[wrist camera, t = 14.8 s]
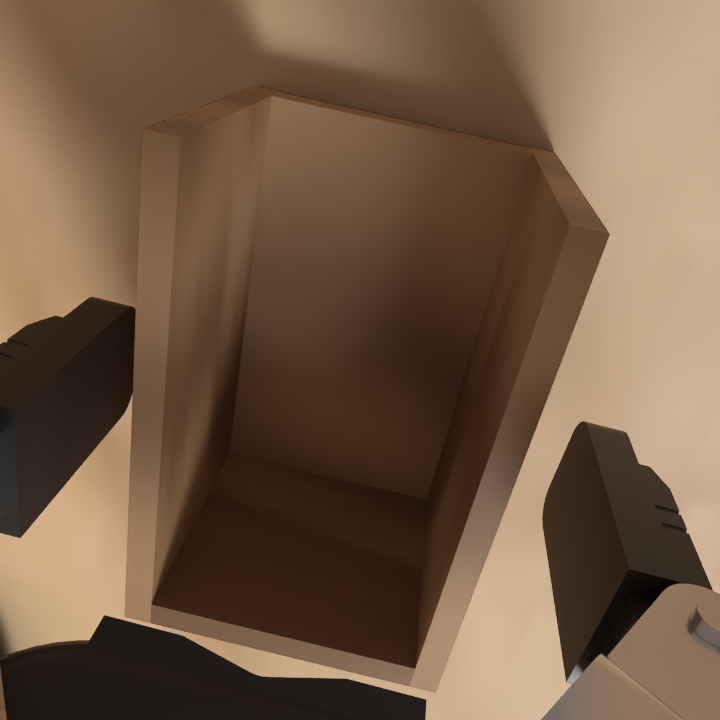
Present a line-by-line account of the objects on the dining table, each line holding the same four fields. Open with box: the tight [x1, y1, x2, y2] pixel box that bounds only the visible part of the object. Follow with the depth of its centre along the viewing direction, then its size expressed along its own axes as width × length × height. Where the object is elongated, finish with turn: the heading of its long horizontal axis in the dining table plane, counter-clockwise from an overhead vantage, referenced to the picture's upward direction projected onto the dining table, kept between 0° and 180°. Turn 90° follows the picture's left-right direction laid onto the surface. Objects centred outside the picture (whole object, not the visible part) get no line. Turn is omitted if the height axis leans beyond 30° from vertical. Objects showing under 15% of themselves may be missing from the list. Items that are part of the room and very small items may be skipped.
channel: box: [125, 86, 610, 693], centre depth 13 cm, size 9×6×6 cm, turn 169°
